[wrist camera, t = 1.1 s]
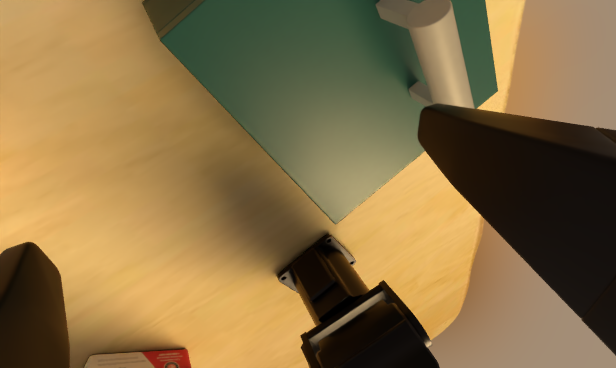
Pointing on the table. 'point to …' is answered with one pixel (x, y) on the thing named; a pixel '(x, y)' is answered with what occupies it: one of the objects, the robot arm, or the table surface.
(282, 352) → the table surface
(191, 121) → the table surface
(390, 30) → the lid
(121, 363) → the ink box
